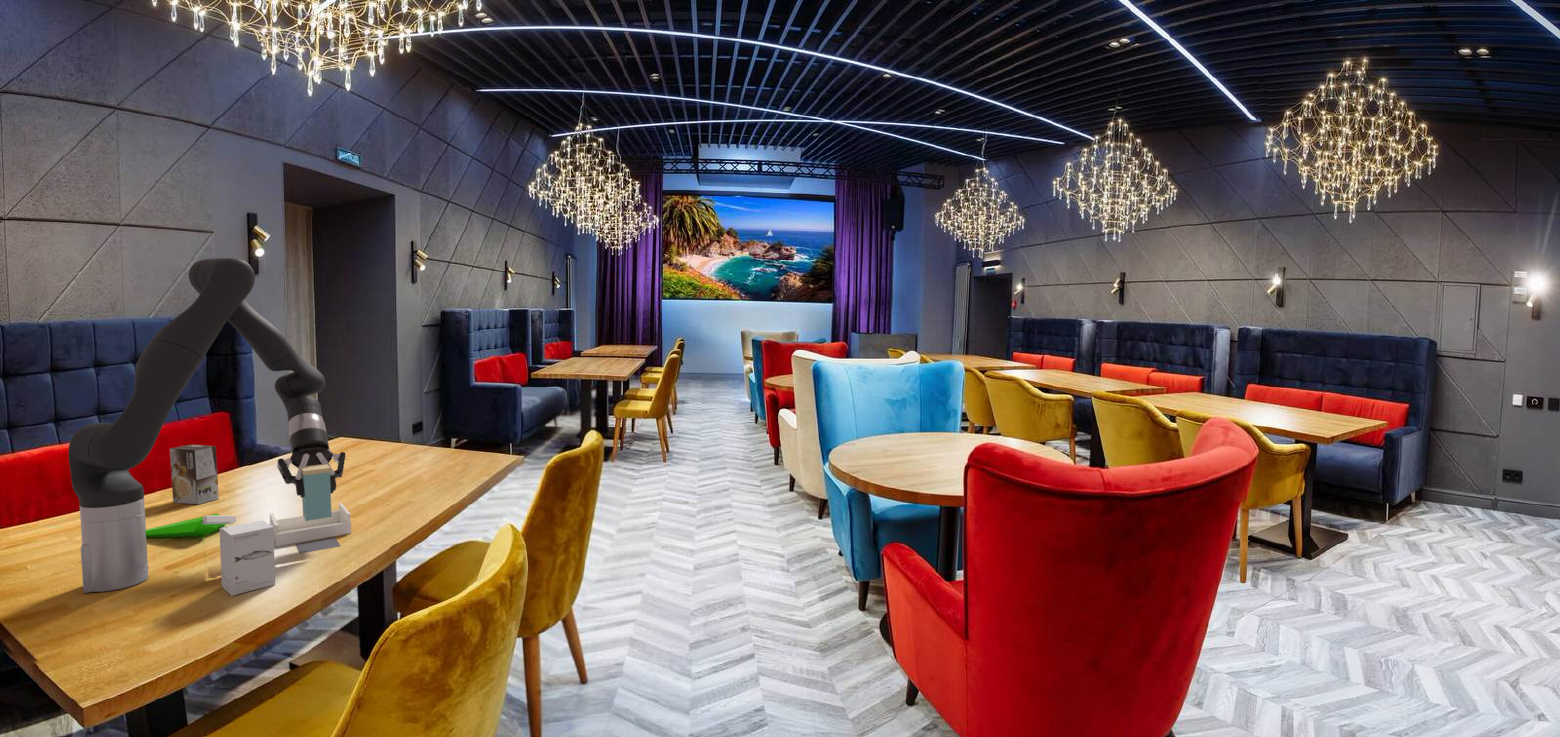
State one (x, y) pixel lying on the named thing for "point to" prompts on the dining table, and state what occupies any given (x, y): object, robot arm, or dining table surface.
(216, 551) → the dining table surface
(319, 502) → the tea tin
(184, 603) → the dining table surface
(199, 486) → the coffee box
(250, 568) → the supplement box
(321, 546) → the coaster
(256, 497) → the dining table surface
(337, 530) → the tote
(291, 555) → the dining table surface
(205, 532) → the green and white wedge
